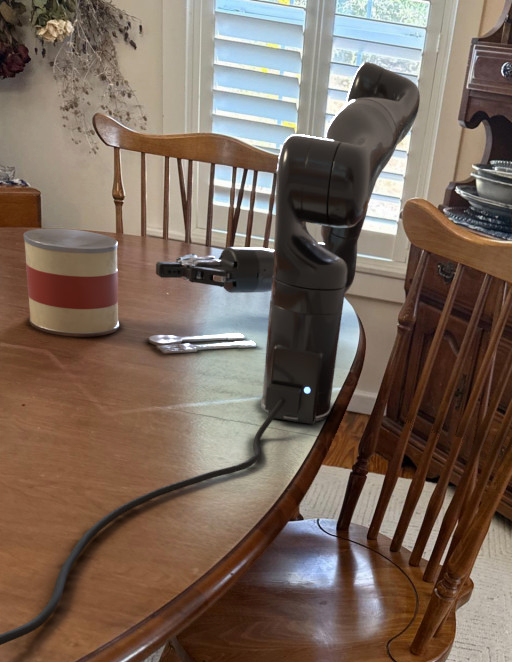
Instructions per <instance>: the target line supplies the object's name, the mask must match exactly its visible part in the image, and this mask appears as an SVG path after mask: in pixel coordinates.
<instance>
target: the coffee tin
mask: <svg viewBox="0 0 512 662" xmlns="http://www.w3.org/2000/svg"><path fill="white" fill-rule="evenodd" d="M23 241H24V251H25V270H26V283H27V295H28V306H29V307H28V308H29V324H30V326H32V328H34V329H36V330H38V331H41V332H44V333H47V334H51V335H55V336H56V335H57V336H64V337H72V338H73V337H75V338H90V337H100V336H106V335H110V334H112V333H115V332H116V331H118V330H119V327H120V323H119V274H118V273H119V272H118V248H119V247H118V245H119V244H118V241H117V240H116V239H115V238H113V237H111V236H108V235H105V234H101V233H97V232H92V231H87V230H80V229H70V228H37V229H30V230H26V231H25V232H24V233H23Z"/></svg>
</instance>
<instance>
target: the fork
mask: <svg viewBox="0 0 512 662" xmlns="http://www.w3.org/2000/svg"><path fill="white" fill-rule="evenodd" d="M235 348H236V349H237V348H238V349H247V348H257V343H255V342H254V341H252V340H239V341H233V342H221V343H219V342H218V343H203V344H201V343H200V344H191V342H186V343H181V344H178V345H163V346H159V345H156V349H157V350H158V351H159V352H161V353H162V354H163V355H167V354H168V355H169V354H180V353H181V354H184V353H197V351H201V350H202V351H203V350H204V351H205V350H218V349H235Z"/></svg>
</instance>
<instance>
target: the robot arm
mask: <svg viewBox="0 0 512 662" xmlns="http://www.w3.org/2000/svg"><path fill="white" fill-rule="evenodd" d="M420 102H421V95H420V90H419V87H418V85H417V84H416V83H415V82H414V81H412V80H411V79H410V78H408V77H406V76H403V75H400V74H398V73H396V72H394V71H391V70H389V69H387V68H385V67H383V66H381V65H378V64H376V63H373V62H369V61H366V62H363V63H362V64H361V65H360V66H359V68H358V69H357V71H356V73H355V75H354V76H353V79H352V81H351V84H350V86H349V90H348V93H347V97H346V101H345V104H344V105H343V106H342V107H341V108H340V110H339V111H338V112H337V113H335V116H333V118H332V119H331V120H330V123H329V124H328V127H327V130H326V134H325V138H322V137H316V136H310V135H305V134H291V135H290V136H288V137H287V138H286V139H285V141H284V142H283V145H282V146H281V149H280V153H279V156H278V160H277V161H278V162H277V169H276V181H275V183H276V184H275V216H274V217H275V218H274V219H275V220H274V238H273V249H270V248H265V247H239V246H238V247H237V246H235V247H234V246H228V247H225V248H224V249H223V250H222V251H221V253H220V256H218V258H217V259H216V257H215V256H214V255H204V256H197V254H195V253H190V254H186V255H183V256H179V257H176V260H175V261H157V262H156V263H155V274H156V275H157V276H158V277H160V278H161V279H164V278H165V279H166V278H167V279H169V278H170V279H171V278H173V279H174V278H175V279H176V278H179V279H181V280H184V281H186V280H188V281H189V282H190V283H196V284H202V285H209V286H215V287H220V288H223V289H224V290H225V291H226V292H228V293H231V294H237V293H238V294H239V293H240V294H241V293H244V294H245V293H268V292H270V301H269V310H268V311H269V312H268V323H267V324H268V325H267V333H266V334H267V335H266V345H265V346H266V348H265V361H264V372H263V385H262V388H263V389H262V397H261V400H260V407H261V409H262V410H263V411H264V412H265V413H267V417H266V418H265V420H264V422H262V424H261V426H260V427H259V429H258V430H257V431H256V433H255V435H254V437H253V441H252V447H253V455H252V456H251V457H250V458H248V459H247V460H245V461H244V462H241V463H239V464H236V465H232V466H228V467H224V468H220V469H216V470H212V471H208V472H205V473H202V474H199V475H196V476H193V477H190V478H187V479H184V480H181V481H177V482H174V483H171V484H168V485H165V486H162V487H159V488H156V489H154V490H151V491H149V492H147V493H144V494H142V495H141V496H138V497H136V498H134V499H132V500H130V501H128V502H126V503H124V504H122V505H121V506H119V507H117V508H115V509H114V510H112V511H110V512H109V513H108V514H106V515H105V516H104V517H102V518H101V519H100V520H98V521H97V522H96V523H94V525H93V526H91V527H90V528H89V529H88V530H87V531H86V532H85V533H84V534H83V536H82V537H81V538H80V539H79V540H78V542H77V543H76V545H74V547H73V549H72V550H71V552H70V553H69V554H68V556H67V558H66V559H65V560H64V562H63V564H62V566H61V568H60V569H59V572H58V574H57V577H56V579H55V584H54V587H53V590H52V593H51V597H50V599H49V600H48V602H47V604H46V605H45V606H44V608H43V609H42V611H40V613H38V614H37V616H35V617H34V618H32V619H31V620H30V621H28V622H27V623H25V624H22V625H20V626H17V627H16V628H13V629H10V630H8V631H6V632H3V633H0V646H2V645H4V644H6V643H9V642H11V641H14V640H16V639H19V638H22V637H23V636H25V635H28V634H30V633H32V632H34V631H35V630H37V629H38V628H39V627H41V626H42V625H43V624H44V623H45V622H47V621H48V619H49V618H50V617H51V616H52V615H53V613H54V612H55V610H56V608H57V607H58V604H59V603H60V601H61V598H62V595H63V592H64V589H65V585H66V581H67V578H68V576H69V573H70V571H71V570H72V568H73V565H74V564H75V562H76V561H77V560H78V559H79V557H80V555H81V553H82V552H83V550H84V549H85V548H86V546H87V545H88V544H89V542H90V541H91V540H92V539H93V538H94V537H95V536H96V535H97V534H98V533H100V532H101V531H102V529H104V528H105V527H106V526H107V525H109V524H110V523H111V522H113V521H114V520H115V519H117V518H118V517H121V516H122V515H123V514H125V513H127V512H129V511H131V510H133V509H134V508H136V507H138V506H141V505H142V504H144V503H147V502H149V501H151V500H153V499H155V498H158V497H161V496H164V495H165V494H168V493H171V492H175V491H176V490H177V491H178V490H180V489H183V488H186V487H189V486H192V485H195V484H198V483H201V482H204V481H208V480H210V479H213V478H217V477H223V476H225V475H229V474H234V473H237V472H240V471H244V470H246V469H248V468H249V467H251V466H253V465H254V464H255V463H257V462H258V460H259V459H260V457H261V449H260V441H261V438H262V436H263V435H264V433H265V432H266V430H267V429H268V427H269V426H270V424H271V423H272V422H273V420H274V419H278V420H282V421H283V420H284V421H290V422H296V423H301V424H307V425H308V424H309V425H315V423H316V422H318V421H323V420H325V419H327V418H328V417H329V416H330V415H331V404H332V403H331V402H332V396H333V395H332V394H333V387H334V378H335V369H336V362H337V355H338V349H339V348H338V347H339V340H340V339H339V338H340V330H341V323H342V318H343V317H342V316H343V309H344V302H345V301H344V300H345V294H346V293H347V292H348V291H349V290H350V288H351V287H352V285H353V282H354V281H355V278H356V277H355V276H356V271H357V261H358V260H357V258H358V241H359V238H360V235H361V232H362V229H363V226H364V223H365V220H366V217H367V213H368V209H369V203H370V200H371V197H372V195H373V192H374V189H375V186H376V183H377V181H378V179H379V177H380V176H381V173H382V172H383V170H384V169H385V168H386V166H387V165H388V163H389V162H390V160H391V159H392V157H393V155H394V153H395V150H396V148H397V147H398V145H399V144H400V143H401V142H402V141H403V140H404V139H405V138H406V136H407V135H408V134H409V132H410V130H411V129H412V127H413V125H414V123H415V121H416V118H417V116H418V113H419V108H420ZM307 223H308V224H312V225H313V224H314V225H319V226H321V227H320V237H321V239H322V242H318V241H317V240H316V239H315V238H314V237H313V236H312V235H311V234H310V232H309V230H308V227H307Z"/></svg>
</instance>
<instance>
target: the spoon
mask: <svg viewBox="0 0 512 662" xmlns="http://www.w3.org/2000/svg"><path fill="white" fill-rule="evenodd" d="M245 339H246V336H245V335H243V334H241V333H239V332H237V333H236V332H235V333H222V334H211V335H210V334H209V335H192V336H177V335H172V334H171V335H164V334H154V335H150V336H149V338H148V341H149V343H150V344H152V345H154V346H163V345H178V344H183V343H191V342H193V343H194V342H209V341H245Z"/></svg>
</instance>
